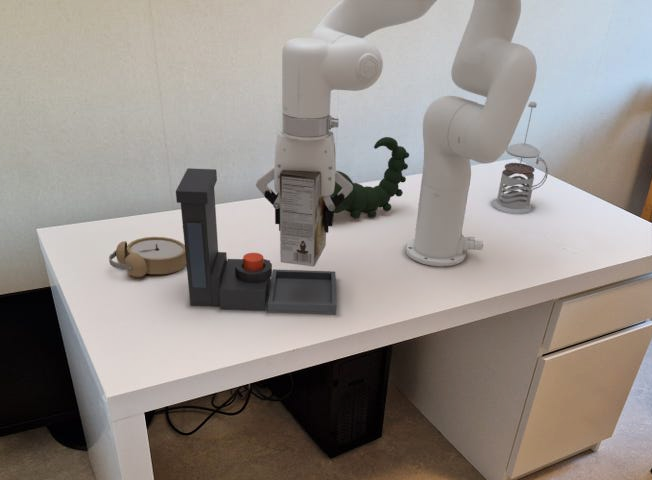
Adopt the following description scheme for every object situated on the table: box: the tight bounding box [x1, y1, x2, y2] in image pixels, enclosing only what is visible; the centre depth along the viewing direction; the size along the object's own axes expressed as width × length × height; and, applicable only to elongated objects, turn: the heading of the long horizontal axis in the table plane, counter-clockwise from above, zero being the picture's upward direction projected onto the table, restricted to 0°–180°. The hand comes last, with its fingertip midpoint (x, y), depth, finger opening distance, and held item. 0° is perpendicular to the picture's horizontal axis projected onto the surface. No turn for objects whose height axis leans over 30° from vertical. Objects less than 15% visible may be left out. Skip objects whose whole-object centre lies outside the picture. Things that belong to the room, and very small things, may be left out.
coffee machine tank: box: [175, 168, 228, 308], centre depth 117 cm, size 6×11×22 cm, turn 1°
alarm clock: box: [108, 236, 187, 278], centre depth 129 cm, size 11×5×15 cm
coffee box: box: [279, 170, 327, 267], centre depth 114 cm, size 9×6×16 cm
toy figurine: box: [332, 136, 410, 220], centre depth 150 cm, size 9×19×25 cm
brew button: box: [242, 252, 264, 271], centre depth 119 cm, size 4×4×2 cm
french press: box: [491, 101, 549, 215], centre depth 158 cm, size 10×12×25 cm
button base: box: [219, 258, 273, 312], centre depth 121 cm, size 9×12×6 cm
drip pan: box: [267, 268, 337, 316], centre depth 123 cm, size 12×13×2 cm
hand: (303, 228), depth 116 cm, fingers closed on coffee box, 7 cm apart
